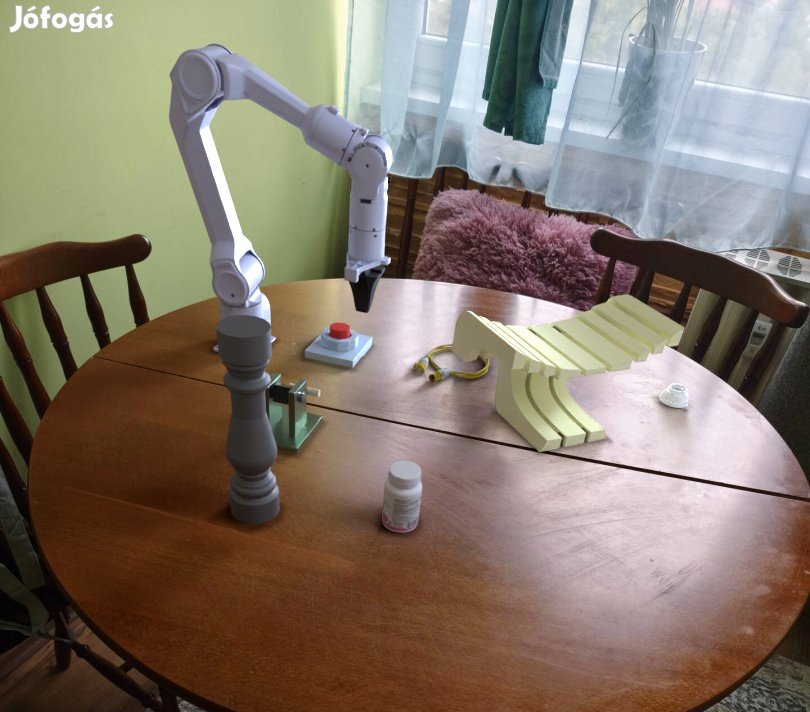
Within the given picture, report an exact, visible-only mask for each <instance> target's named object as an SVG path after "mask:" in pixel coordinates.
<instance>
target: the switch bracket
mask: <svg viewBox="0 0 810 712" xmlns="http://www.w3.org/2000/svg"><path fill="white" fill-rule="evenodd" d="M281 376H282V375H281V373H277V372H274V373H273V374H272V375H270V379H271V383H270V385H269V387H268V388H267V389H266V390H265V402H266V413H267V416H268V420H269V423H270V426H271V429H272V433H273V436H274V439H275V442H276V446H277V450H278V449H279V450H281V451H286V452H291V453H295V454H298V453H299V452H300V451H301V449H302V448H303V447H304V445H305V444H306V443H307V441H308V440H309V439H310V437H312V435H313V433H314V432H315V431H316V430H317V428H318V427H319V426H320V425H321V423H322V422H323V418H324V417H323V415H321V414H316V413H312V412H308V411H307V395H306V387H307V379H304V378H299V379H298V381H296V382H295V383H294V384H295V385H294V386H293V387H292V388H291V389H290V391H289V392H288V402H289V404H288V407H286V406H282V403H278V402H273V396H274V389H275V385H277V384H282V377H281Z"/></svg>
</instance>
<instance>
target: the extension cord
mask: <svg viewBox="0 0 810 712" xmlns="http://www.w3.org/2000/svg"><path fill="white" fill-rule="evenodd" d="M452 345H453V343H447V344H440V345H438V346H436V347H434V348H433V349H432V350H430V352H429V353H428V354H427V356H424V357H421V358H420V359H418V362H416V363H414V365H413V368H414V371H415V372H416V373H420V374H425V373H426V371H427V369H428V367H429V362H430V364H431V366H432V367H433V368H434V369H435V371H434V372H432V373H430V374H429V375H428V378H429V381H430V382H431V383H433V384H435V383H437V382H438V381H439V382H442V381H443V380H444V379H446V378H447V377H449V376H453V377H455V378H462V379H468V380H470V379H477V378H481V377H483V376H485V375H486V374H487V373H488V370H489V366H490V358H485V359H483V358H482V357H481V356H480V355H478V357H477V358H479V359H480V360H481V361H482V362H483V363H484V365H485V366H484V367H483V368H482V369H480V370H478V371H475V372H463V371H456V370H455V371H454V370H450V369H449V368H446V367H443V368H442V367H440V366H439V365H438V364H437V363H435V361H434V360H433V359H432V358H433V357H434V356H435V355H437V354H439V353H441V352H446V351H451V352H453V351H452Z"/></svg>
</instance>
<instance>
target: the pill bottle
mask: <svg viewBox="0 0 810 712" xmlns="http://www.w3.org/2000/svg"><path fill="white" fill-rule="evenodd" d="M387 476H388V477H387V478H386V479H385V481H384V487H383V501H382V513H381V522H382V525H383V526H384V527H385V528H386V529H387V530H389V531H391V532H394V533H398V534H399V533H401V534H406V533H409V532H413V531H414V530H415V529H416V528H417V526H418V524H419V517H420V510H421V509H420V508H421V503H422V496H423V495H422V494H423V483H422V481H421V477H422V469H421V467H420V465H418V464H417V463H415V462H414V461H410V460H397V461H394V462H393V463H391V464H390V466H389V468H388V475H387Z"/></svg>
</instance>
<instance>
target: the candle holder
mask: <svg viewBox="0 0 810 712" xmlns="http://www.w3.org/2000/svg"><path fill="white" fill-rule="evenodd" d="M271 326H272V325H271ZM271 326H270V323H269V322H267V321H266V320H265V319H262V318H259V317H256V316H250V315H235V316H230V317H226V318H223V319H219V320H218V322H216V324H215V329H216V338H217V339H216V341H217V345H218V351H219V352H218V357H219V358H220V359H221V364H222V365H223V366H224V368H225V369H226V371H227V372H225V374H224V375H223V377H222V382H223V385H224V387H225V388H226V389H227V391H229V393H230V402H231V403H230V404H231V415H230V420H229V426H228V431H227V436H226V442H225V448H224V449H225V457H226V459H227V462H228V463H229V464H230V466H231V467H233V469H234V473H233V474H232V476H231V478H230V479H229V483H230V488H229V489H228V494H229V506H230V513H231V516H232V517H233V518H234V519H235V520H237V521H239V522H241V523H243V524H248V525H249V524H250V525H260V524H261V525H262V524H265V523H267V522H270V521H272V520H273V519H274V518H276V517H277V516H278V514H279V512H280V509H281V508H280V507H281V506H280V490H279V486H278V481H277V478H276V477H277V476H276V475H275V474H274V473H273V472H272V471H271V470H272V466H273V465H274V463H275V461H276V460H277V457H278V448H277V446H276V442H275V439H274V436H273V433H272V429H271V426H270V423H269V420H268V416H267V413H266V402H265V390H266V389H267V388H268V387H269V385H270V383H271V379H270V377H271V375H270V374H269V373H268V372H266V370H267V368H268V365H269V364H270V359H271V358H272V356H273V350H272V349H273V348H272V347H273V345H272V343H271V336H272V327H271Z"/></svg>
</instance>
